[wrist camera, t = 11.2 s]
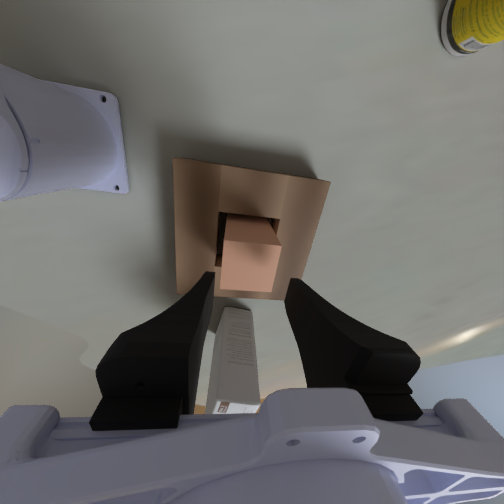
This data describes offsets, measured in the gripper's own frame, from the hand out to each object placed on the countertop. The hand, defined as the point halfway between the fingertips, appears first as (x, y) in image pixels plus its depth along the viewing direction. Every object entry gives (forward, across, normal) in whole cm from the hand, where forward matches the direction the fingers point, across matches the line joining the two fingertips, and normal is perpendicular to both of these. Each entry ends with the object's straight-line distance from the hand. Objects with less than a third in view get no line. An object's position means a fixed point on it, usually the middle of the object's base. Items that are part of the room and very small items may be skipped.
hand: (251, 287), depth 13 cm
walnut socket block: (+10, 0, 0) cm, 10 cm away
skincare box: (+11, 0, +14) cm, 18 cm away
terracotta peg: (+10, 0, 0) cm, 10 cm away
